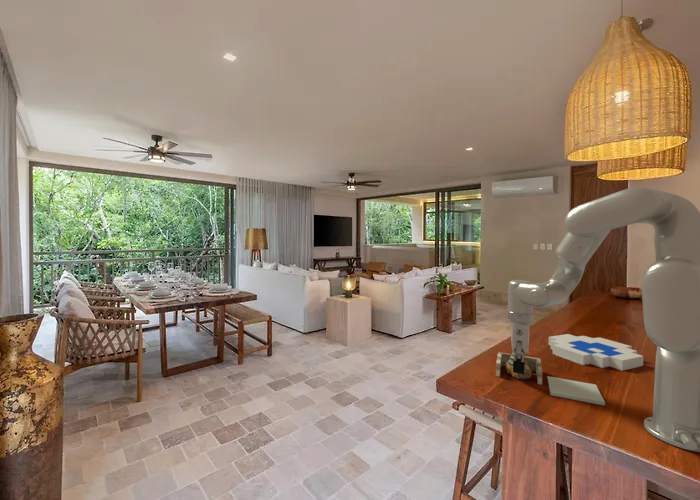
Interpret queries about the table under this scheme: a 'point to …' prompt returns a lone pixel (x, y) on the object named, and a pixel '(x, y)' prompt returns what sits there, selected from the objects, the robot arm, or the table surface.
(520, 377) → the ornament
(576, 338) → the pixel art tile
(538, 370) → the shelf bay
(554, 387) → the tile mat
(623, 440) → the table surface
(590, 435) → the table surface
